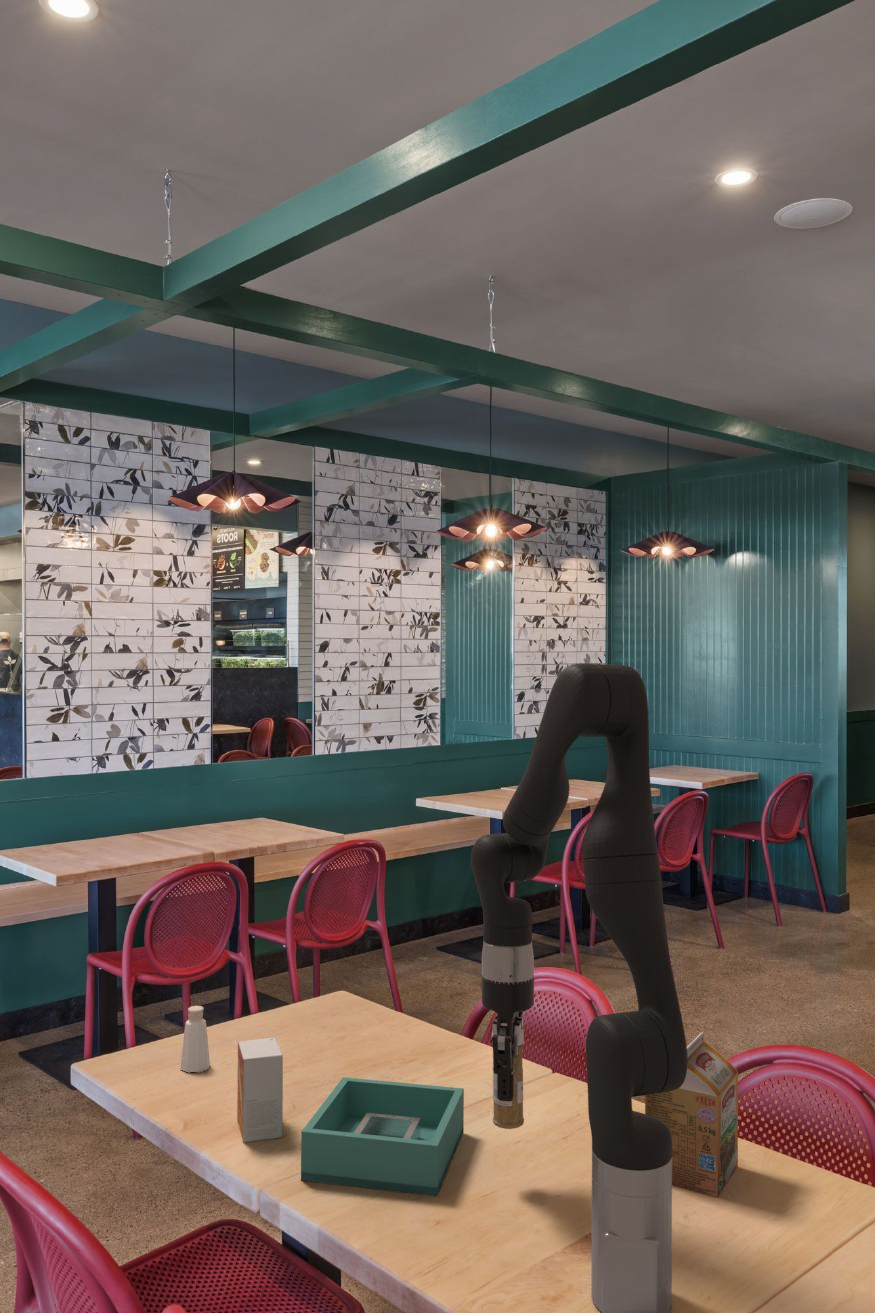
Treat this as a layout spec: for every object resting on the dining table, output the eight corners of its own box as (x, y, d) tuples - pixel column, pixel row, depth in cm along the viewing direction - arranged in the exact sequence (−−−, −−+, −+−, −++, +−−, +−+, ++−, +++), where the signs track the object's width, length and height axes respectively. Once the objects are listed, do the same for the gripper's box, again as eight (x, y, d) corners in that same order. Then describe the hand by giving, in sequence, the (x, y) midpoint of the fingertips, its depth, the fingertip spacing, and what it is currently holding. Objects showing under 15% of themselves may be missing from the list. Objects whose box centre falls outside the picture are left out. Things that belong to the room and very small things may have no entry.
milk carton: (717, 1198, 142) (717, 1061, 142) (644, 1178, 147) (645, 1046, 148) (737, 1167, 151) (738, 1038, 151) (668, 1149, 156) (669, 1025, 157)
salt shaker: (177, 1064, 189) (178, 1005, 189) (206, 1060, 191) (207, 1001, 191) (183, 1075, 184) (183, 1014, 184) (213, 1070, 186) (213, 1010, 186)
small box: (236, 1121, 165) (237, 1040, 165) (275, 1116, 167) (276, 1036, 167) (242, 1143, 157) (242, 1059, 158) (283, 1138, 159) (283, 1054, 160)
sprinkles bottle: (530, 1125, 145) (530, 1030, 145) (505, 1133, 142) (504, 1036, 143) (510, 1114, 149) (510, 1021, 149) (485, 1121, 146) (485, 1027, 147)
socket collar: (407, 1164, 149) (407, 1143, 149) (350, 1157, 150) (350, 1137, 151) (420, 1137, 157) (420, 1118, 157) (366, 1132, 159) (366, 1112, 159)
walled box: (437, 1196, 142) (437, 1146, 142) (300, 1180, 146) (301, 1131, 146) (463, 1133, 161) (463, 1088, 162) (342, 1120, 166) (343, 1077, 166)
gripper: (527, 988, 139) (528, 1116, 138) (539, 961, 153) (539, 1076, 152) (473, 985, 140) (473, 1111, 140) (489, 958, 154) (489, 1073, 154)
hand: (507, 1092), depth 146 cm, fingers closed on sprinkles bottle, 4 cm apart
